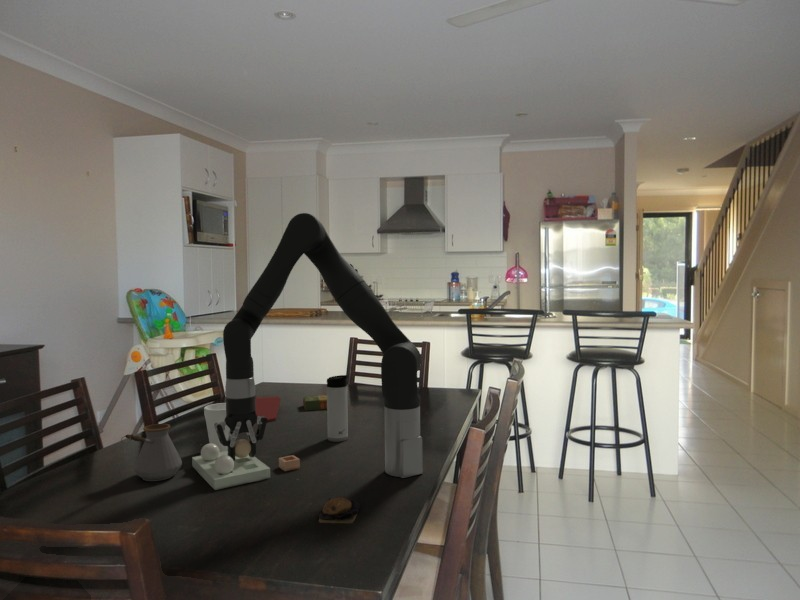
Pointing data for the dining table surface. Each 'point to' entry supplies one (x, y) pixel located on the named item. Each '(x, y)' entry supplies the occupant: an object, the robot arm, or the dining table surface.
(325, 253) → the robot arm
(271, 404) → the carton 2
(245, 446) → the brown egg
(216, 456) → the white egg
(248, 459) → the egg tray
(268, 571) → the dining table surface
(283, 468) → the egg cup
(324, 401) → the carton
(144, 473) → the coffee pot
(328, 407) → the travel mug
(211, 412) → the foam cup
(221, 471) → the white egg
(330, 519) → the sandwich
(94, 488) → the dining table surface
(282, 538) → the dining table surface
